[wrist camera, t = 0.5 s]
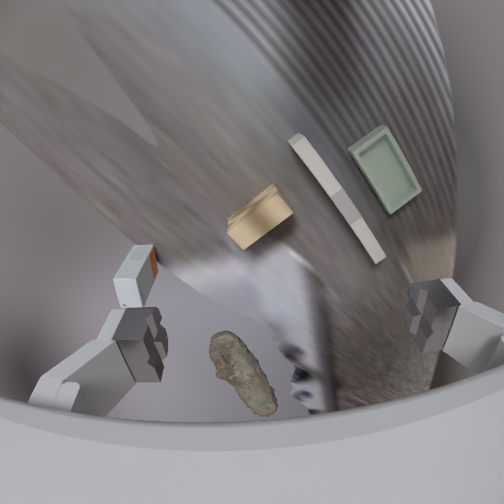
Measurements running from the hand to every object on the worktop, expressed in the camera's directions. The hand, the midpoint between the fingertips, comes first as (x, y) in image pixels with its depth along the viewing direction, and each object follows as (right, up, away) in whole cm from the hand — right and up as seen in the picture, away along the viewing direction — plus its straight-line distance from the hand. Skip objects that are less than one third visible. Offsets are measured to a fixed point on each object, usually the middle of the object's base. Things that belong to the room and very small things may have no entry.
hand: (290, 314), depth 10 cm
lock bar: (0, +9, +44) cm, 45 cm away
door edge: (+14, +12, +43) cm, 47 cm away
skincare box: (-21, +1, +48) cm, 53 cm away
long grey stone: (-2, -29, +65) cm, 71 cm away
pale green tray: (+22, +17, +41) cm, 49 cm away
